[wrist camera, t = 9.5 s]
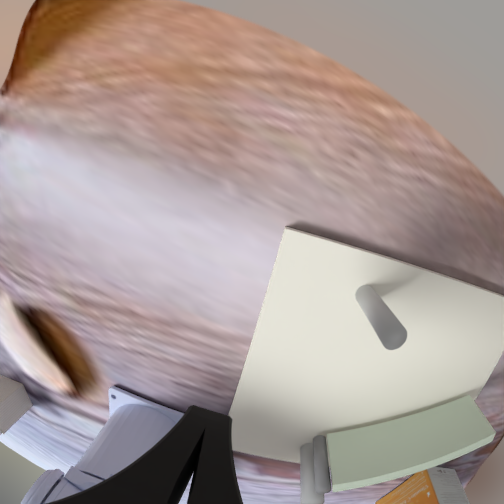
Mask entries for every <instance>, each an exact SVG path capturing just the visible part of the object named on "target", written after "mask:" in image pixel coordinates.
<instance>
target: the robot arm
mask: <svg viewBox="0 0 504 504" xmlns="http://www.w3.org/2000/svg"><path fill="white" fill-rule="evenodd" d="M114 395H115V396H114ZM109 411H110V419H109V420H108V421H107V423H106V424H105V425H104V427H103V428H102V430H101V431H100V432H99V434H98V435H97V436H96V438H95V439H94V441H93V442H92V443H91V445H90V446H89V448H88V449H87V450H86V452H85V453H84V454H83V456H82V457H81V459H80V460H79V461H78V463H77V464H76V466H75V467H73V466H71V468H70V469H69V471H68V472H67V473H66V475H65V476H64V473H63V472H62V471H61V470H59V469H55V470H47V471H45V472H44V473H43V474H42V475H41V476H40V477H39V478H38V479H37V481H36V482H35V483H34V484H33V486H32V487H31V488H30V490H29V491H28V492H27V494H26V495H25V497H24V498H23V500H22V502H21V503H20V504H178V503H179V501H180V499H181V497H182V495H183V493H184V491H185V489H186V487H187V485H188V482H189V480H190V478H191V476H192V474H193V478H192V483H191V487H190V492H189V497H188V501H187V504H243V502H242V498H241V494H240V490H239V486H238V482H237V477H236V472H235V466H234V460H233V452H232V435H231V434H232V420H233V419H232V418H231V417H230V416H227V415H224V414H220V413H217V412H213V411H210V410H207V409H203V408H200V407H197V406H194V405H193V406H190V407H189V408H188V410H187V411H186V413H185V414H184V413H181V412H178V411H176V410H173V409H170V408H167V407H164V406H162V405H159V404H156V403H154V402H151V401H149V400H146V399H143V398H141V397H139V396H136V395H134V394H131V393H129V392H127V391H124V390H122V389H120V388H118V387H115V386H111V387H110V388H109ZM193 472H194V473H193Z"/></svg>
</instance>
